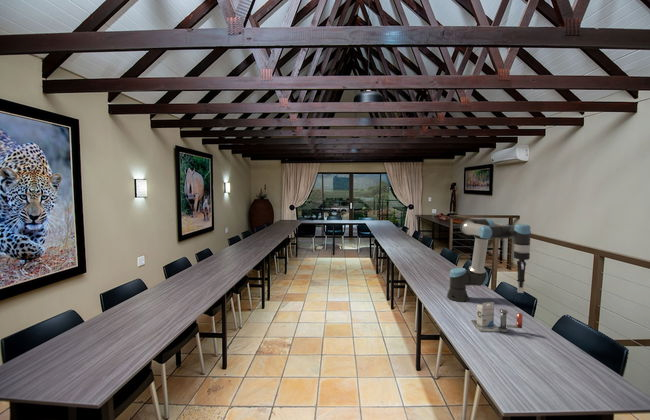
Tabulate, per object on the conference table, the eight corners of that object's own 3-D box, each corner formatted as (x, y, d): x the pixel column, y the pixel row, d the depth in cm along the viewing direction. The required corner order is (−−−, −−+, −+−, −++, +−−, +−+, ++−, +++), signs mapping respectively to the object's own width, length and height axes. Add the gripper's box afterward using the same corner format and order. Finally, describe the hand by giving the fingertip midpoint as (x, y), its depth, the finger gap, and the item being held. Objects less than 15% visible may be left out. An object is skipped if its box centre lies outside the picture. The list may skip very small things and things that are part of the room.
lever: (506, 326, 178) (506, 312, 177) (520, 326, 177) (521, 313, 176) (508, 328, 175) (508, 314, 175) (523, 328, 174) (523, 315, 173)
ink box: (487, 321, 186) (488, 298, 185) (493, 325, 181) (494, 301, 180) (476, 323, 184) (476, 300, 183) (481, 326, 180) (482, 303, 179)
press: (470, 322, 189) (471, 303, 188) (497, 322, 188) (497, 303, 187) (481, 332, 175) (481, 312, 175) (509, 333, 174) (510, 312, 174)
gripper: (512, 249, 174) (511, 287, 176) (514, 253, 163) (513, 295, 164) (528, 250, 171) (526, 289, 172) (531, 254, 159) (529, 297, 161)
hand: (520, 292), depth 168 cm, fingers closed
